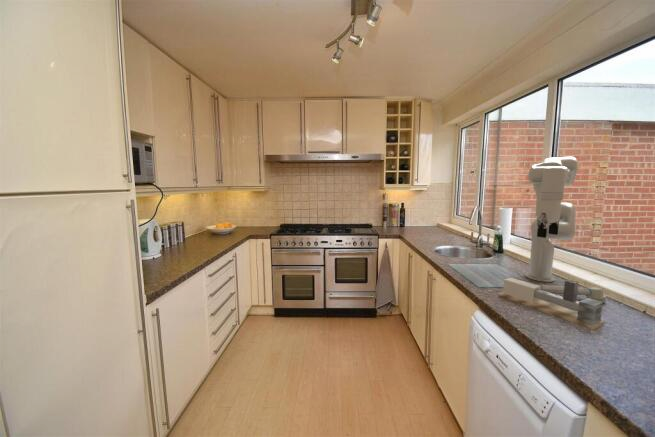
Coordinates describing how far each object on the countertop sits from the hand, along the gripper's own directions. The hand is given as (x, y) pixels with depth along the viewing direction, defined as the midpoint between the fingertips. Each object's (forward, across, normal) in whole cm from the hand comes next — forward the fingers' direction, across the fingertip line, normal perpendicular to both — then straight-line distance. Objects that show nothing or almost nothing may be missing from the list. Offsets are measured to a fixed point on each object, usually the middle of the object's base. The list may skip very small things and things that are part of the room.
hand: (547, 235), depth 117 cm
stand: (+28, +11, +6) cm, 31 cm away
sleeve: (+27, +11, -3) cm, 29 cm away
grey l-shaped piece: (+24, +11, +10) cm, 29 cm away
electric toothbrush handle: (+29, -10, +6) cm, 31 cm away
